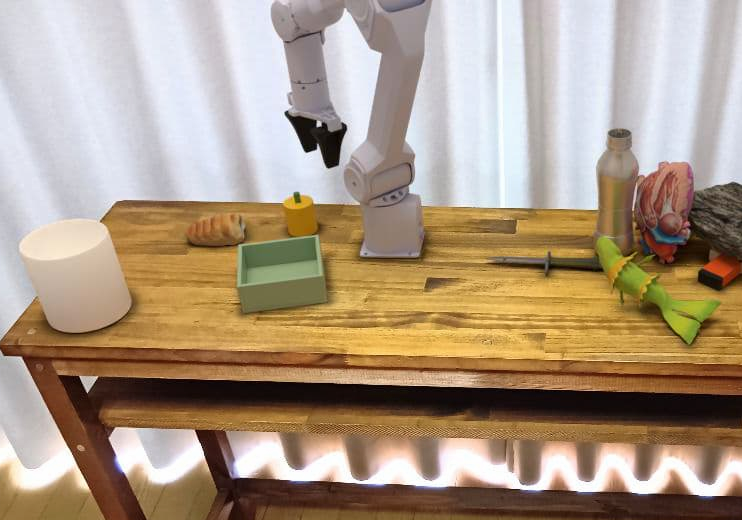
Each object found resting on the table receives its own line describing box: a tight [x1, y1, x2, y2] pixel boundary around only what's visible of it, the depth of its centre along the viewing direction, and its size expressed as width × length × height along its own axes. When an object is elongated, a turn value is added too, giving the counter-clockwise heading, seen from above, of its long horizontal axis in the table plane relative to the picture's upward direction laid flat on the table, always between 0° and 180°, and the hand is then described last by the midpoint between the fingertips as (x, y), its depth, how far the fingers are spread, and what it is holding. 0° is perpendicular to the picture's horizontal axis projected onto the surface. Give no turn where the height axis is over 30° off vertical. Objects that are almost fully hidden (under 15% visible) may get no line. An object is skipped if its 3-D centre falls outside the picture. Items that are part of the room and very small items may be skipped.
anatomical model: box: [633, 160, 695, 265], centre depth 137 cm, size 11×6×15 cm
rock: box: [687, 181, 742, 260], centre depth 136 cm, size 12×16×6 cm
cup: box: [18, 218, 133, 334], centre depth 129 cm, size 12×12×12 cm
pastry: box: [184, 211, 246, 247], centre depth 147 cm, size 9×7×4 cm
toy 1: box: [597, 236, 723, 346], centre depth 128 cm, size 8×20×8 cm, turn 49°
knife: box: [483, 251, 603, 275], centre depth 139 cm, size 19×2×5 cm
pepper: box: [282, 191, 319, 238], centre depth 148 cm, size 5×5×7 cm
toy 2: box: [697, 247, 742, 291], centre depth 137 cm, size 8×4×15 cm
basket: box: [236, 234, 329, 314], centre depth 136 cm, size 12×12×5 cm
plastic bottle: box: [592, 127, 640, 258], centre depth 136 cm, size 6×7×20 cm
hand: (321, 158), depth 150 cm, fingers open, 7 cm apart
